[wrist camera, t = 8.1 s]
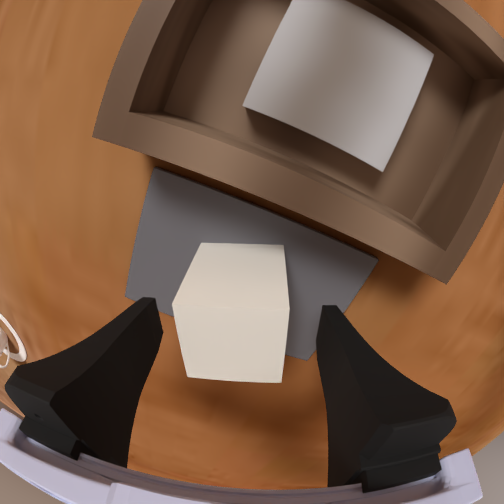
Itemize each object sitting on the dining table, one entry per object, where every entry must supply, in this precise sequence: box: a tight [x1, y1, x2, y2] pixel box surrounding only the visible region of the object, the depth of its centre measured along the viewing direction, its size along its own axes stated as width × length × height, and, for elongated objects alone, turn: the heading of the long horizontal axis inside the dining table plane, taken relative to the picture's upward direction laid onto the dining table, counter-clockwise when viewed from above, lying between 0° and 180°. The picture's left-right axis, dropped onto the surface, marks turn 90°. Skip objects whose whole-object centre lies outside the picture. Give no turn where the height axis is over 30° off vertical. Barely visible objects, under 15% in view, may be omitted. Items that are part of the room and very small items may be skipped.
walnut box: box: [92, 0, 504, 285], centre depth 9 cm, size 15×11×4 cm
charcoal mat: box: [125, 167, 379, 361], centre depth 15 cm, size 12×8×1 cm, turn 68°
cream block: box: [172, 243, 290, 383], centre depth 13 cm, size 4×4×5 cm
